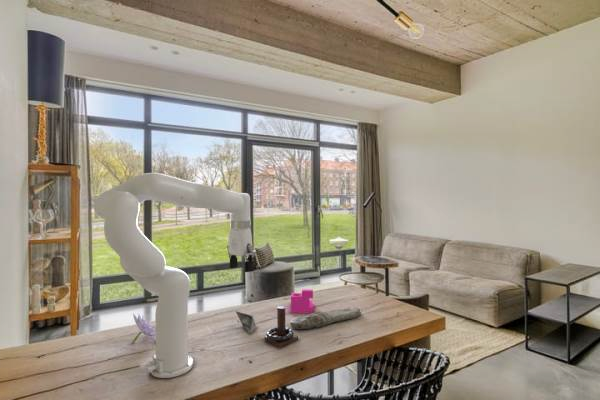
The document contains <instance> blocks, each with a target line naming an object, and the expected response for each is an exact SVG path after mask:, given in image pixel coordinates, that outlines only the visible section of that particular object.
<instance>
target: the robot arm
mask: <svg viewBox="0 0 600 400" xmlns="http://www.w3.org/2000/svg"><path fill="white" fill-rule="evenodd" d="M145 201H155V202H160V203H166V204H171V205H175V206H179V207H184V208H190V209H191V208H192V209H210V210H211V211H212V212H215V213H218V214H230V228H229V231H228V232H229V233H228V244H227V245H226V249H227V254H228V258H229V268H230V269H236V268H238V257H243V258H244V260H245V261H244V273H250V272H253V261H254V259H255V257H256V252H257V250H256V249H255V248H254V247H253V235H252V230H251V196H250V194H249V193H246V192H237V191H233V190H229V189H227V188H221V187H217V186H212V185H208V184H203V183H198V182H194V181H190V180H186V179H183V178H179V177H175V176H173V175H172V176H171V175H167V174H164V173H160V172H146V173H140V174H137V175H134V176H133V177H131V178H128V179H127V180H125V181H123V182H121V183H119V184H117V185H116V186H113V187H111V188H110V189H108V190H106V191H104V192H103V193H100V194H99V195H98V196H97V198H96V199H95V201H94V203H93V208H94V212H95V213H96V215H97V216H98V217H99V218H101V219H103V220H104V222H103V231H104V238H105V240H106V243H107V244H108V246H109V247H110V248H111V249H112V251H113V252H115V253H116V254H117V255H118V256H119V263H120V267H121V268H122V270H123V271H124V272H125V273H126V274H127V275H128V276H129V277H131V279H133V280H134V281H135V282H136V283H137V284H138V285H140V286H141V287H142V288H143V289H144V290H146V291H147V292H148V293H151V294H152V295H155V296H157V297H158V299H157V304H156V306H155V307H156V308H155V314H154V315H155V317H154V319H155V321H154V322H155V326H156V329H155V331H156V332H155V333H156V335H155V339H156V341H155V354H154V355H152V359H150V360H149V361H148V362H145V363H141V364H140V365H138V370H139V372H140V373H142V372H144V371H146V372H147V373H151V375H152V376H153V377H155V378H157V379H171V378H176V377H178V376H182V375H184V374H186V373H187V372H189V371H190V370H191V369H192V368H193V366H194V359H193V357H192V356H190V355H189V312H188V311H189V310H188V308H189V298H190V297H189V296H190V292H191V291H190V290H191V279H190V277H189V275H188V274H187V273H186V272H185V271H183V270H182V269H180V268H177V267H176V268H175V267H172V266H168V265H166V264H167V263H166V262H167V261H166V257H165V255H164V254H163V252H162V251H161V250H160V249H159V248H158V247H157V246H156V245H155V244H154V243H153V242H152V241H151V240H150V239H149V238H148V237H147V236H146V235H145V234H144V233H143V232H142V231H141V229H140V227H139V225H138V218H139V214H140V207H141V206H140V205H141V204H143V203H144V202H145Z"/></svg>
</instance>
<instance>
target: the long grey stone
mask: <svg viewBox="0 0 600 400" xmlns="http://www.w3.org/2000/svg"><path fill="white" fill-rule="evenodd" d="M361 315H362V312H361V309H360V308H357V307H345V308H339V309H334V310H333V309H332V310H329V311H320V310H319V311H313V313H304V315H300V316H297V317H295V318H293V319H291V320H290V323H289V326H290V327H291V328H293V329H297V330H299V329H300V330H303V329H306V330H307V329H314V328H316V329H319V328H320V327H323V326H326V325H330V324H332V323H335V322H338V323H339V322H342V321H345V320H352V319H355V318H358V317H359V316H361Z"/></svg>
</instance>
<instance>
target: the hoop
mask: <svg viewBox="0 0 600 400" xmlns="http://www.w3.org/2000/svg"><path fill="white" fill-rule="evenodd" d="M275 332H277V326H275V327H272V328H269V329H268V330H267V331H266V333H265V336H267V338H268V339H270V340H272V341H286V340H288V339H291V338H292V336H293V335H295V333H294V331H293V330H292V329H291V328H289V327H287V326H285V332H287V333H289V334H288V335H286V336H281V337H277V336H273V335H271V334H272V333H275Z"/></svg>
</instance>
